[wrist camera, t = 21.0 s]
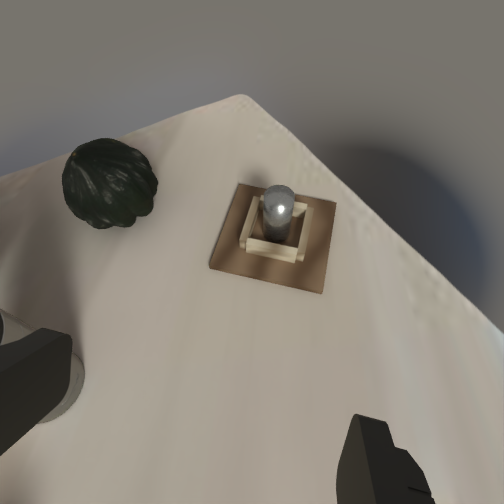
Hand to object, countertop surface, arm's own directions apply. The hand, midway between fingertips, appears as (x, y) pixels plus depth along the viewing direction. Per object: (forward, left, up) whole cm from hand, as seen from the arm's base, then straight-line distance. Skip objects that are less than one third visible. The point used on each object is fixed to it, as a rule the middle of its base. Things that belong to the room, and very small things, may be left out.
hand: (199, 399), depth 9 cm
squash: (-30, +31, -37) cm, 57 cm away
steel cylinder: (-2, +32, -36) cm, 48 cm away
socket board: (-2, +32, -37) cm, 48 cm away
